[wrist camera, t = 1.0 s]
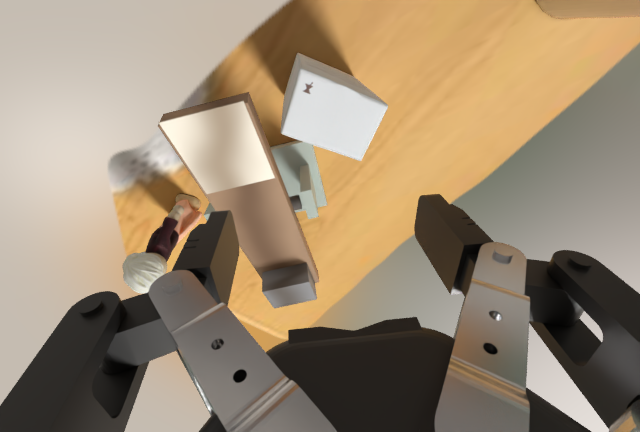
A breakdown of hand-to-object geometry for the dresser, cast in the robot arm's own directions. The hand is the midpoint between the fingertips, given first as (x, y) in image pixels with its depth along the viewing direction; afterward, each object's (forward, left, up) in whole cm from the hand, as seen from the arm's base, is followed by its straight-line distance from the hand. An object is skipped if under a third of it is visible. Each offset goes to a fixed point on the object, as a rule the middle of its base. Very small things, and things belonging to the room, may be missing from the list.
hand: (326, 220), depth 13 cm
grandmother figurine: (+16, +7, -21) cm, 27 cm away
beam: (+6, +7, -14) cm, 17 cm away
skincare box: (-2, -2, -21) cm, 21 cm away
